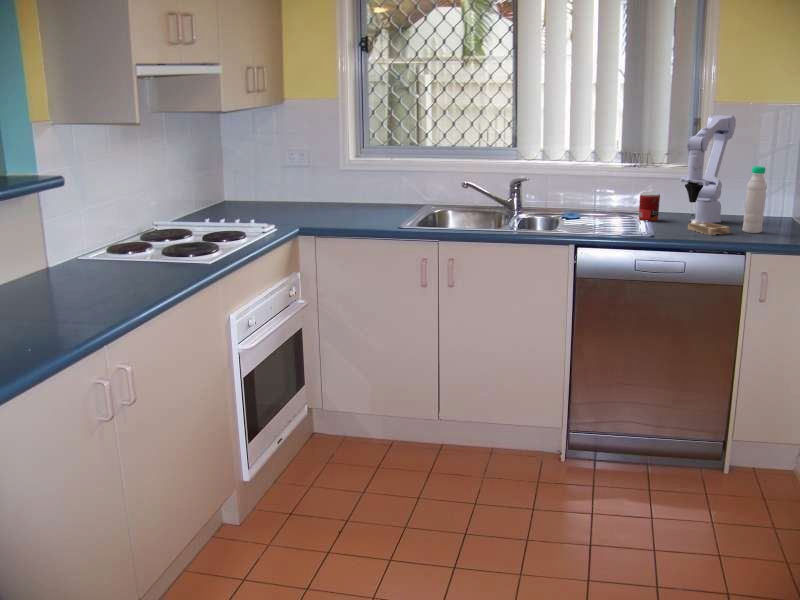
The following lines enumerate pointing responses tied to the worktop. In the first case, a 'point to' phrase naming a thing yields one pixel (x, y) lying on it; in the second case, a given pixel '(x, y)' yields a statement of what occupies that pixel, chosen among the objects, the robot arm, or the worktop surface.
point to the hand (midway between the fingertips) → (692, 202)
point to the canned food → (649, 206)
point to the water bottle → (755, 201)
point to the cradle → (709, 228)
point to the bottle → (698, 223)
